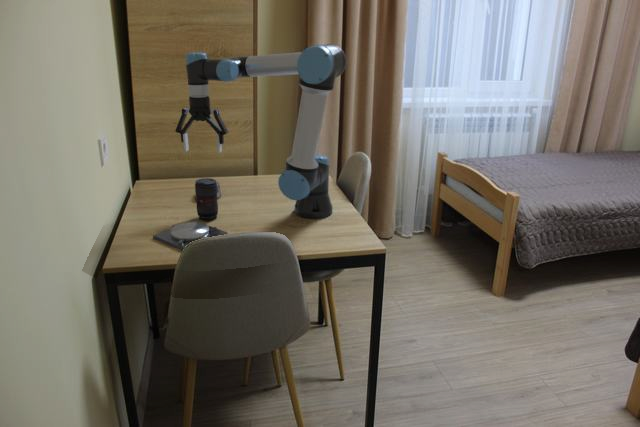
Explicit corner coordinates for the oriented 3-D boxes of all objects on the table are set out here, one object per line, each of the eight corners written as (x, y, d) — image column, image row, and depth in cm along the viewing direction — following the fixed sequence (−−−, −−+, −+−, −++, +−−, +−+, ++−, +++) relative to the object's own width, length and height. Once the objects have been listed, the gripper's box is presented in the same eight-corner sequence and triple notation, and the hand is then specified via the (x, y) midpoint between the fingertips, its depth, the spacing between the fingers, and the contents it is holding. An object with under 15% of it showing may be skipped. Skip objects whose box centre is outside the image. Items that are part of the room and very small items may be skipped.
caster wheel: (204, 197, 226) (225, 195, 225) (194, 200, 215) (217, 198, 214) (201, 182, 225) (223, 180, 224) (192, 185, 214) (215, 182, 213)
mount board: (227, 235, 181) (227, 227, 180) (186, 252, 167) (186, 244, 166) (193, 223, 191) (192, 215, 190) (152, 238, 178) (151, 230, 177)
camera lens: (211, 223, 191) (209, 185, 186) (193, 220, 194) (190, 182, 189) (222, 216, 198) (220, 179, 193) (204, 213, 201) (202, 176, 196)
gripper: (234, 95, 193) (237, 150, 201) (171, 93, 197) (176, 147, 204) (227, 98, 186) (230, 155, 194) (163, 96, 190) (168, 152, 197)
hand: (203, 151), depth 199 cm, fingers open, 13 cm apart
